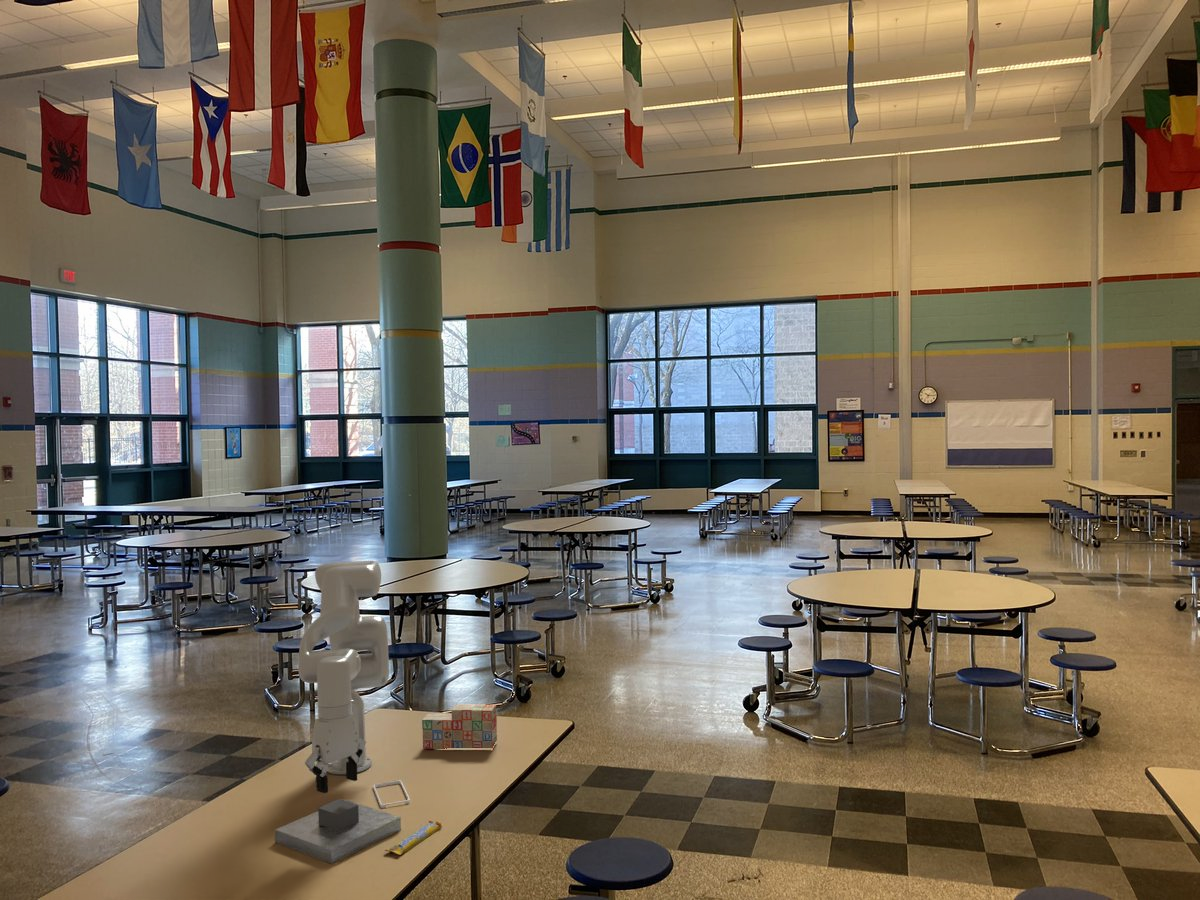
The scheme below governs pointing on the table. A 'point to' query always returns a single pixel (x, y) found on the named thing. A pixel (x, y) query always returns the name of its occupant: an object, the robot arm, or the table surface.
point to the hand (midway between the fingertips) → (337, 785)
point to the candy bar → (415, 838)
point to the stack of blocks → (461, 728)
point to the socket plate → (337, 834)
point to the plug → (338, 815)
